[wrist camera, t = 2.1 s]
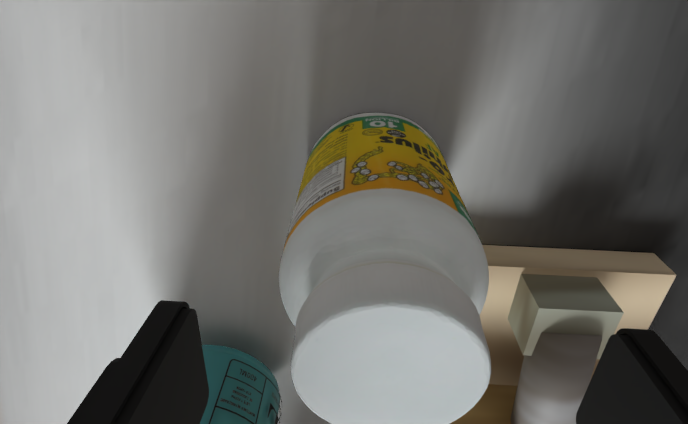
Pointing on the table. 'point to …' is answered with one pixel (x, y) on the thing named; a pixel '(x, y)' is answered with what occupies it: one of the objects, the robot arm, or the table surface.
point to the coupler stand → (557, 325)
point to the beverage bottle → (239, 388)
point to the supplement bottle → (384, 280)
